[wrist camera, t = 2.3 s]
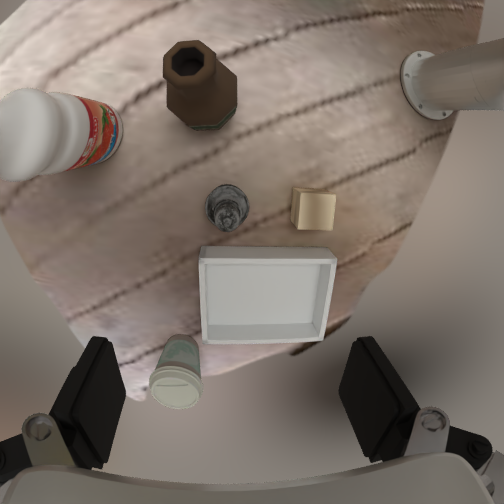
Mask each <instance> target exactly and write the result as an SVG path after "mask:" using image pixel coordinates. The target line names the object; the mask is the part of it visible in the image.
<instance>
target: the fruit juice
mask: <svg viewBox="0 0 504 504" xmlns="http://www.w3.org/2000/svg"><path fill="white" fill-rule="evenodd" d="M122 133H123V127H122V121H121V118H120V116H119V114H118V113H117V112H116V110H115V109H114V108H112V107H111V106H109V105H107V104H105V103H102V102H98V101H94V100H90V99H87V98H83V97H79V96H74V95H71V94H67V93H61V92H49V93H46V92H44V91H42V90H40V89H37V88H21V89H17V90H14V91H12V92H10V93H9V94H7V95H6V96H4V97H3V98H2V99H1V100H0V178H1V179H3V180H6V181H10V182H20V181H25V180H29V179H31V178H33V177H35V176H37V175H50V174H56V173H60V172H64V171H68V170H72V169H76V168H80V167H85V166H89V165H94V164H98V163H101V162H103V161H105V160H106V159H108V158H109V157H110V156H112V155H113V153H114V152H115V151H116V149H117V148H118V146H119V144H120V142H121V138H122Z"/></svg>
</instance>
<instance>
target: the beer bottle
mask: <svg viewBox="0 0 504 504" xmlns="http://www.w3.org/2000/svg"><path fill="white" fill-rule="evenodd" d="M163 78H164V79H166V80H167V108H168V109H169V110H170V111H172V112H173V113H174V114H175V115H176V116H177V117H178V118H180V119H181V120H182V121H183V122H184V123H185V124H186V125H187V126H189V127H191V128H193V129H195V130H215V129H220V128H221V127H222V126H223V125H224V124H225V123H226V122H227V121H228V120H229V119H230V118H231V117H232V116H233V115H234V114H235V111H236V108H237V76H236V75H235V74H234V73H233V72H231V71H230V70H229V69H228V68H227V67H226V66H224V65H223V64H222V63H221V62H220V61H218V60H217V59H216V53H215V52H214V51H212V50H211V49H210V48H209V47H207V46H206V45H205V44H204V43H202V42H201V41H199V40H193V41H181V42H178V43H176V44H175V45H174V46H173V47H172V48H171V49H170V50H169V51H168V52H167V53H166V54H165V55H164V57H163Z"/></svg>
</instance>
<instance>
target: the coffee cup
mask: <svg viewBox="0 0 504 504" xmlns="http://www.w3.org/2000/svg"><path fill="white" fill-rule="evenodd" d="M149 386H150V389H151V393H152V395H153V397H154V398H155V400H156V401H158V402H159V403H160V404H162V405H164V406H166V407H169V408H174V409H186V408H189V407H192V406H193V405H195V404H196V403H197V402H198V400H199V398H200V397H201V395H202V392H203V383H202V381H201V374H200V362H199V350H198V344H197V343H196V341H195V340H194V339H193V338H191V337H189V336H187V335H181V334H180V335H174V336H172V337H171V338H170V339H169V340H168V342H167V344H166V346H165V348H164V350H163V353H162V355H161V357H160V360H159V362H158V364H157V366H156V369H155V371H154V372H153V373H152V374H151V376H150V379H149Z"/></svg>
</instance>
